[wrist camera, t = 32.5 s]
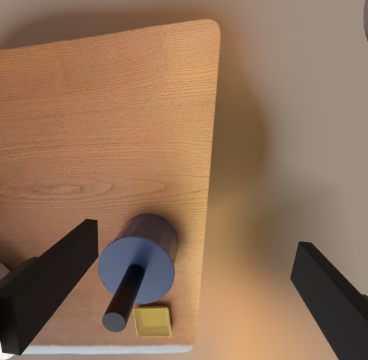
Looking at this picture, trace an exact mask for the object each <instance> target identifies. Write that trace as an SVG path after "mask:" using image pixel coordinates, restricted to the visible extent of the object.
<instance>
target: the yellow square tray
mask: <svg viewBox="0 0 368 360" xmlns="http://www.w3.org/2000/svg"><path fill="white" fill-rule="evenodd" d="M133 314H134V320H135V325H136V331H137V336H138V337H171V336H172V332H171V325H170V317H169V309H168V307H166V306H140V307H136V308H134V309H133Z"/></svg>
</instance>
